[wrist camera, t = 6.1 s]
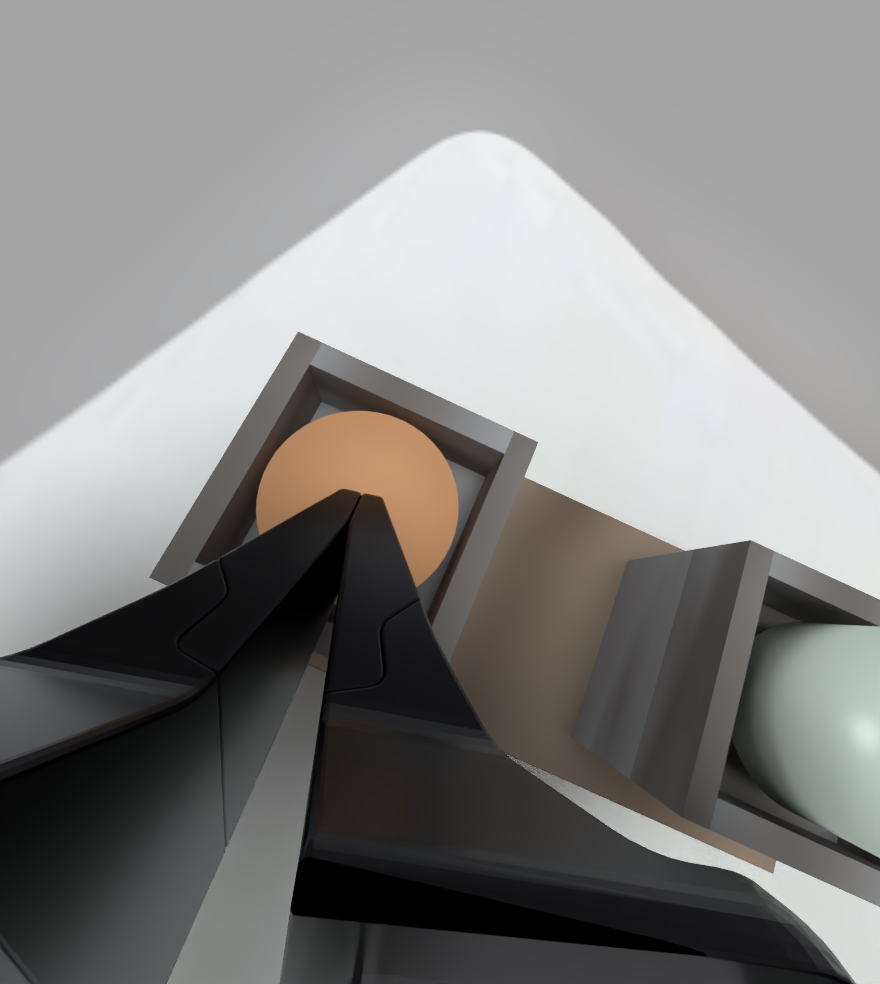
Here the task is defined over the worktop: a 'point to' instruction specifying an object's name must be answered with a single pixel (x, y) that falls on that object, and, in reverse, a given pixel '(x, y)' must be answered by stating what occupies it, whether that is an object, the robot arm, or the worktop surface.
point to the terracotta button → (367, 480)
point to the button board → (568, 619)
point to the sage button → (816, 725)
